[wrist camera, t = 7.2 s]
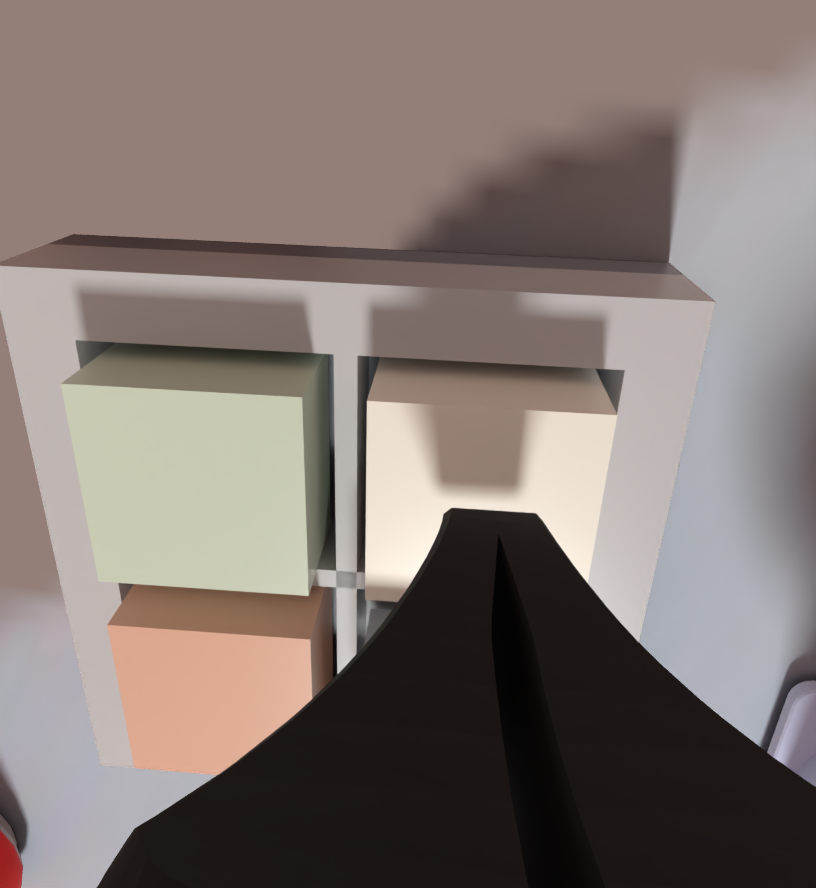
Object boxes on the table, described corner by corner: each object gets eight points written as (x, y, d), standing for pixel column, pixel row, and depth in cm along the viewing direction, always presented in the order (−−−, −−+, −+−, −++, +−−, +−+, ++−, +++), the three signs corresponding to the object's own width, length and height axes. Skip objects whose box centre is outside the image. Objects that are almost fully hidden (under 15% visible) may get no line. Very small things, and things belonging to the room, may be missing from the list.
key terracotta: (331, 562, 15) (310, 639, 13) (333, 695, 17) (314, 782, 15) (156, 550, 16) (107, 624, 13) (175, 683, 17) (134, 768, 15)
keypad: (669, 263, 14) (715, 301, 11) (583, 710, 19) (601, 805, 16) (73, 234, 14) (-11, 264, 12) (146, 677, 19) (100, 764, 17)
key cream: (591, 361, 13) (617, 414, 11) (564, 538, 15) (581, 614, 13) (382, 350, 13) (366, 400, 11) (378, 525, 15) (364, 599, 13)
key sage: (327, 346, 13) (301, 397, 11) (330, 522, 15) (308, 596, 13) (125, 336, 13) (61, 383, 11) (149, 511, 15) (98, 581, 13)
